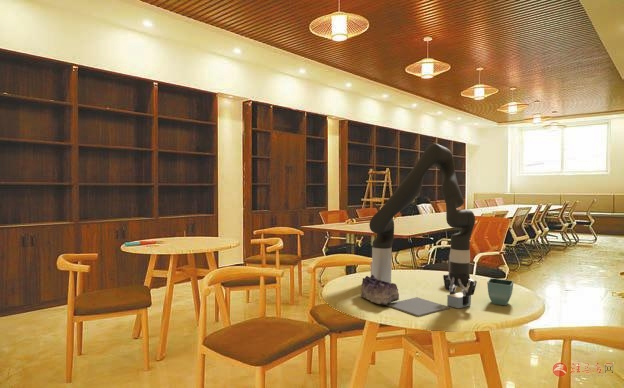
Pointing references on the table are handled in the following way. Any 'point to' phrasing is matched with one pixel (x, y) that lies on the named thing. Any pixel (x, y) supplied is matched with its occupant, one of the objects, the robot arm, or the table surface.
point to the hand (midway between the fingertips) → (458, 303)
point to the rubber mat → (418, 306)
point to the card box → (457, 300)
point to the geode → (379, 291)
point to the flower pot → (500, 291)
